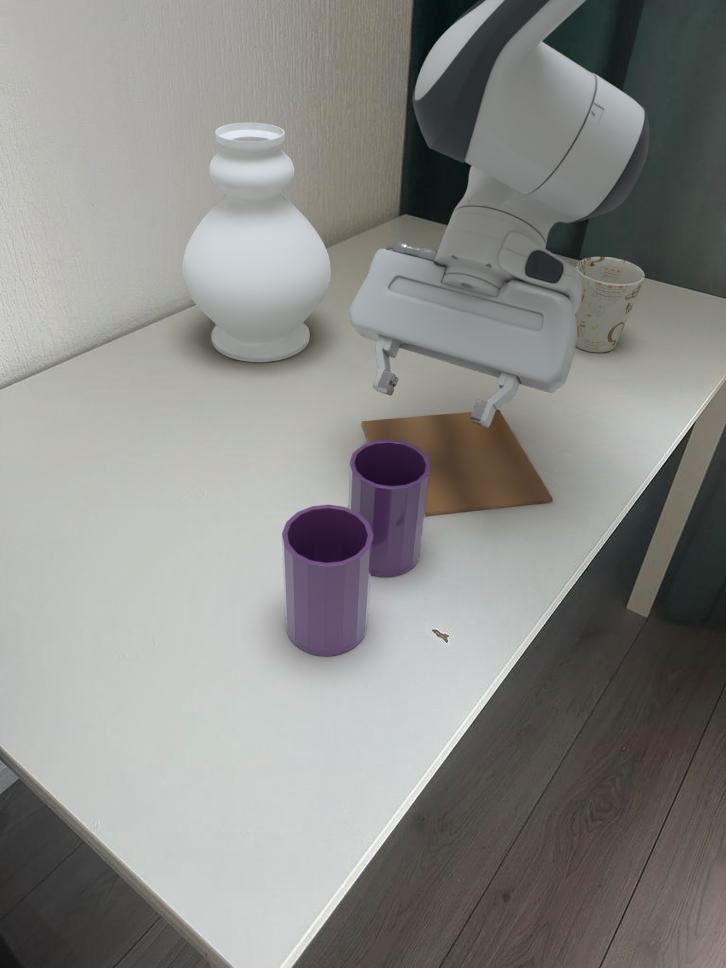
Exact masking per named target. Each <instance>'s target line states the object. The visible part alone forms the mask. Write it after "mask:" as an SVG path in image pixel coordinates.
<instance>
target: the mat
mask: <svg viewBox="0 0 726 968" xmlns="http://www.w3.org/2000/svg"><path fill="white" fill-rule="evenodd" d="M471 413H472V411H467V412H454V413H453V412H452V413H443V414H442V413H441V414H431V415H419V416H417V415H416V416H406V417H395V418H393V417H392V418H383V419H372V420H371V419H370V420H362V421H361V427H362V429H363V432H364V436H365V438H366V440H367V443H370V442H373V441H380V440H395V441H402V442H406V443H408V444H411V445H413V446H416V447H418V448H419V449H420V450H421V451H422V452H424V453H425V454H426V455H427V457H428V459H429V462H430V464H431V468H430V477H429V485H428V494H427V502H426V511H425V517H426V516H435V515H436V516H437V515H445V514H454V513H463V512H474V511H481V510H492V509H501V508H509V507H510V508H511V507H520V506H528V505H529V506H530V505H537V504H547V503H553V501H554V498H553V496H552V495H551V493H550V492H549V490H548V488H547V486H546V485H545V483H544V481H543V480H542V478H541V476H540V475H539V473H538V471H537V470H536V469H535V466H534V465H533V463H532V461H531V460H530V458H529V457H528V455H527V454H526V452H525V449H524V448H523V447H522V445H521V444H520V442H519V440H518V439H517V436H516V435H515V434H514V432H513V430H512V429H511V427H510V425H509V424H508V422H507V420H506V419H505V417H504V415H503V414H502V412H501V410H500V409H498V410H496V411H495V414H494V416H493V419H492V421H491V424H490V426H489V427H488V428H487V427H484V426H481V425H478V424H475V423H472V421H471V420H470V417H471Z"/></svg>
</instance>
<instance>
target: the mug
mask: <svg viewBox="0 0 726 968" xmlns="http://www.w3.org/2000/svg"><path fill="white" fill-rule="evenodd" d="M575 268H576V270H577V272H578V275H579V277H580V281H581V285H582V300H581V304H580V307H579V309H578V311H577V312H576V314H575V317H576V323H577V341H576V347H575V348H578V349H580V350H583V351H586V352H589V353H608V352H610V351H613V350H614V349H615V348H616V346H617V343H618V341H619V339H620V337H621V335H622V332H623V331H624V327H625V325H626V323H627V321H628V318H629V316H630V313H631V311H632V309H633V307H634V304H635V303H636V299H637V297H638V295H639V293H640V291H641V288H642V286H643V283H644V280H645V272H644V271H643V270H642V268H640V267H639V266H638V265H636V264H634V263H632V262H630V261H627V260H624V259H620V258H615V257H608V256H590V257H586V258H583V259H581V260H579V261H578V262H577V263H576V266H575Z"/></svg>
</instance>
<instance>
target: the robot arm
mask: <svg viewBox="0 0 726 968" xmlns="http://www.w3.org/2000/svg"><path fill="white" fill-rule="evenodd" d="M586 1H587V0H478V1H477V2H475V3H474V4H473V5H471V6H470V7H469V8H468V9H467V10H465V12H464V13H462V14H461V15H460V16H459V17H458V18H457V19H456V20H455V21H454V22H453V24H451V25H450V27H449V28H448V29H447V30H446V31H445V32H444V33H443V34H442V35H441V36H440V37H439V38H438V39H437V41H436V42H435V43H434V44H433V46H432V48H431V49H430V50H429V52H428V54H427V56H426V57H425V60H424V61H423V63H422V66H421V68H420V71H419V73H418V76H417V79H416V84H415V86H414V90H413V93H412V99H411V101H412V105H413V111H414V114H415V117H416V120H417V124H418V126H419V130H420V132H421V134H422V136H423V138H424V140H425V143H426V145H427V147H428V148H429V149H431V150H434V151H435V152H438V153H439V154H442V155H445V156H447V157H449V158H451V159H452V160H453V159H454V160H455V161H458V162H459V163H463V164H464V163H466V164H467V165H470V168H469V173H468V182H467V188H466V190H465V193H464V195H463V196H462V198H461V199H460V201H459V202H458V203H457V205H456V206H455V208H454V210H453V211H452V214H451V216H450V219H449V222H448V224H447V227H446V229H445V230H444V234H443V236H442V238H441V241H440V243H439V246H438V248H437V249H434V248H433V249H432V248H428V247H423V246H416V245H411V244H410V243H408V242H404V241H395V242H394V243H393V244H388V245H385V246H383V247H381V248H379V249H378V250H377V251H376V252H375V254H374V256H373V259H372V261H371V264H370V266H369V269H368V274H367V276H366V277H365V279H364V281H363V282H362V284H361V286H360V288H359V290H358V291H357V293H356V295H355V297H354V299H353V301H352V304H351V306H350V307H349V311H348V318H349V321H350V325H351V327H352V328H353V330H355V332H356V333H358V334H359V335H360V337H362V338H365V339H368V340H372V341H375V342H376V343H375V346H374V349H375V350H374V351H375V358H376V364H377V365H376V366H377V369H378V370H377V373H376V375H375V378H374V380H373V383H372V389H373V390H374V391H376V392H377V393H381V394H384V395H387V396H390V397H391V396H393V394H394V392H395V388H396V387H397V384H398V382H399V377H398V376H396V374H395V373H394V372H392V371H391V363H390V358H392V359H396V357H397V354H398V352H399V350H400V349H402V350H404V351H409V352H411V353H415V354H418V355H421V356H424V357H428V358H431V359H435V360H438V361H441V362H446V363H448V364H452V365H455V366H457V367H461V368H465V369H468V370H472V371H474V372H478V373H482V374H485V375H488V376H492V377H495V378H498V380H497V382H496V384H497V385H498V387H499V390H497V391H496V392H495V393H494V394H493V395H492V396H491V397H490V398H488V399H487V400H486V401H483V400H480V399H476V401H475V404H474V406H473V408H474V410H473V411H471V412H472V413H471V417H470V420H471V421H472V423H475V424H478V425H481V426H484V427H487V428H488V427H489V426H490V424H491V421H492V419H493V416H494V414H495V411H496V410H500V409H501V408H502V407H504V405H506V404H507V403H508V402H510V401H511V400H513V398H515V397H516V396H517V392H518V391H519V389H520V388H519V387H520V385H521V386H524V387H528V388H530V389H534V390H537V391H541V392H544V393H547V394H553V393H555V392H556V391H558V390H560V389H561V388H562V387H564V386H565V384H566V381H567V379H568V376H569V373H570V370H571V367H572V363H573V360H574V355H575V352H576V348H577V347H576V341H577V323H576V317H575V314H576V312H577V311H578V309H579V307H580V304H581V300H582V285H581V281H580V277H579V275H578V272H577V270H576V266H574V265H572V264H571V263H569V262H568V261H567V260H565V259H563V258H561V257H560V256H558V255H556V254H554V253H553V252H552V251H550V250H548V249H547V245H548V239H549V234H550V232H551V231H550V230H551V229H552V228H553V226H554V225H555V224H557V223H563V224H565V225H570V224H574V223H578V222H579V223H580V222H583V221H586V220H589V219H593V218H596V217H599V216H601V215H604V214H607V213H610V212H612V211H614V210H615V209H617V208H618V207H620V206H621V205H622V204H623V203H624V202H625V201H626V199H627V198H628V196H629V195H630V193H631V192H632V190H633V189H634V187H635V185H636V183H637V181H638V179H639V177H640V175H641V173H642V171H643V168H644V166H645V163H646V160H647V158H648V153H649V146H650V145H649V144H650V124H649V123H650V122H649V118H648V114H647V110H646V108H645V107H644V106H642V105H640V104H639V103H638V102H637V101H636V100H635V99H634V98H632V96H630V95H628V94H627V93H626V92H624V91H622V90H621V89H620V88H618V87H616V86H615V85H614V84H611V83H610V82H609V81H607V80H605V79H604V78H602V77H601V76H599V75H598V74H596V73H594V72H591V71H589V70H587V69H586V68H584V67H582V66H581V65H579V64H578V63H577V62H575V61H573V60H572V59H570V58H569V57H567V56H566V55H564V54H563V53H561V52H560V51H558V50H556V49H555V48H553V47H551V46H550V45H548V44H546V43H545V42H544V40H545V39H546V38H547V37H548V36H549V35H550V34H552V32H554V31H555V30H556V29H557V28H558V27H559V26H560V25H561V24H562V23H563V22H564V21H566V19H567V18H569V17H570V16H571V15H572V14H573V13H574V12H575V11H576V10H577V9H579V8H580V7H581V6H582V5H583V4H584V3H585V2H586Z"/></svg>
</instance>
